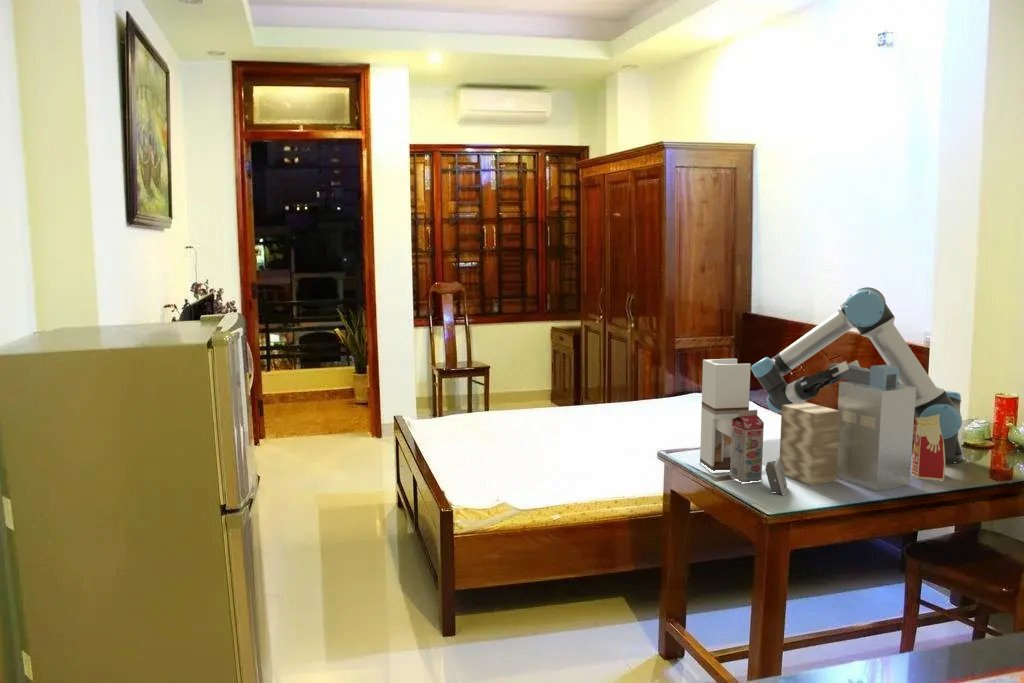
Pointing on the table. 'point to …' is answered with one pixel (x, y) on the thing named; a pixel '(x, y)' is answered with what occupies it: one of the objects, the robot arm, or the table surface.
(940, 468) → the milk carton
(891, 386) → the bar
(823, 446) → the birch block
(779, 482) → the electrical switch
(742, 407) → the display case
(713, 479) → the table surface
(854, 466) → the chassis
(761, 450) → the juice carton
